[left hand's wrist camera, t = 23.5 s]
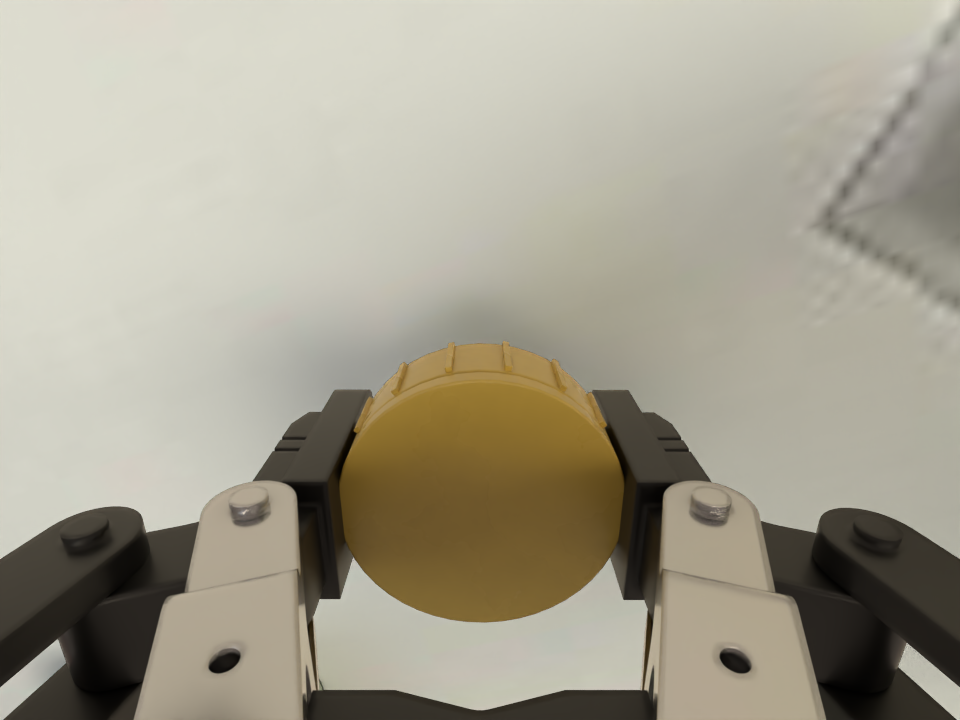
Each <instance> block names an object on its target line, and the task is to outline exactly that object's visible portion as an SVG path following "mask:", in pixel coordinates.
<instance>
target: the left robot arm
mask: <svg viewBox="0 0 960 720" xmlns="http://www.w3.org/2000/svg"><path fill="white" fill-rule="evenodd" d="M591 393H592V394H593V396H594V398H595V400H596V402H597V404H598V407H599V409H600V411H601V413H602V416H603V418H604V420H605V422H606V424H607V426H606V427H604V428H605V430H606V432H607V435H608V437H609V439H610V442H611V444H612V446H613V448H614V451H615V453H616V455H617V458H618V460H619V463H620V466H621V469H622V472H623V475H624V494H623V503H622V512H621V521H620V530H619V538H618V543H617V545H616V547H615V549H614V551H613V553H612V555H611V556H610V558H611V561H612V564H613V568H614V571H615V574H616V577H617V580H618V584H619V587H620V590H621V593H622V596H623V599H624V600H645V603H646V605H647V608H648V611H647V618H646V625H645V635H644V648H643V661H642V675H641V688H640V690H564V691H560V692H556V693H552V694H548V695H544V696H540V697H536V698H532V699H528V700H524V701H521V702H517V703H513V704H509V705H505V706H501V707H497V708H493V709H489V710H471V709H467V708H463V707H459V706H455V705H451V704H447V703H443V702H439V701H436V700H432V699H428V698H424V697H420V696H416V695H412V694H408V693H404V692H400V691H396V690H320V688H319V675H318V661H317V648H316V635H315V625H314V618H313V616H314V613H315V611H316V608H317V605H318V602H319V599H340V598H341V595H342V591H343V588H344V585H345V582H346V578H347V575H348V572H349V569H350V565H351V562H352V559H353V555H352V553H351V551H350V550H349V548H348V546H347V543H346V541H345V536H344V527H343V518H342V508H341V499H340V488H339V479H340V476H341V472H342V468H343V465H344V463H345V460H346V458H347V456H348V453H349V451H350V448H351V446H352V444H353V441H354V439H355V437H356V434H357V433H356V432H354V429H355V426H356V424H357V422H358V419H359V417H360V415H361V413H362V410H363V408H364V406H365V403H366V401H367V399H368V398H369V397H371V398H373V396H372V392H371V390H334V392H333V393H332V395H331V397H330V398H329V400H328V402H327V404H326V405H325V407H324V409H323V410H322V412H309V413H307V414H306V415H304V416H302V417H301V418H299V419H298V420H296V421H295V422H293V423H292V424H291V425H290V427H289V428H288V429H287V431H286V432H285V434H284V435H283V437H282V440H280V441H279V443H278V444H277V446H276V447H275V451H273V452H272V453H271V455H270V456H269V458H268V459H267V461H266V462H265V464H264V465H263V467H262V468H261V470H260V471H259V473H258V474H257V476H256V477H255V479H254V480H253V482H248V483H244V484H240V485H237V486H234V487H232V488H229V489H227V490H225V491H223V492H221V493H220V494H218V495H216V496H215V497H214V498H212V499H211V500H210V501H209V502H208V503H207V504H206V505H205V507H204V508H203V510H202V513H201V516H200V521H199V522H196V523H192V524H188V525H183V526H178V527H173V528H168V529H163V530H158V531H152V532H147V533H146V530H145V526H144V522H143V519H142V516H141V514H140V513H139V512H138V511H136V510H134V509H131V508H128V507H103V508H98V509H93V510H89V511H85V512H82V513H79V514H76V515H74V516H71V517H69V518H66V519H64V520H62V521H60V522H58V523H56V524H55V525H53V526H51V527H50V528H48V529H46V530H45V531H43V532H42V533H40V534H39V535H37V536H36V537H34V538H32V539H31V540H29V541H28V542H26V543H25V544H23V545H22V546H20V547H18V548H17V549H15V550H14V551H12V552H11V553H9V554H8V555H6V556H5V557H3V558H1V559H0V687H1V686H2V685H3V684H4V683H6V682H7V681H8V680H9V679H10V678H12V677H13V676H14V675H15V674H16V673H18V672H19V671H20V670H21V669H22V668H23V667H25V666H26V665H27V664H28V663H29V662H31V661H32V660H33V659H34V658H35V657H36V656H38V655H39V654H40V653H41V652H42V651H44V650H45V649H46V648H47V647H48V646H50V645H51V644H52V643H53V642H54V641H55V640H57V639H58V640H59V643H60V646H61V648H62V651H63V654H64V657H65V660H66V662H67V663H66V664H65V665H64V666H63V667H62V668H60V669H59V670H58V671H57V672H56V673H55V674H54V675H53V676H52V677H50V678H49V679H48V680H47V681H46V682H45V683H44V684H43V685H42V686H40V687H39V688H38V689H37V690H36V691H35V692H34V693H33V694H31V695H30V696H29V697H28V698H27V699H26V700H25V701H24V702H23V703H21V704H20V705H19V706H18V707H17V708H16V709H15V710H14V711H13V712H11V713H10V714H9V715H8V716H7V717H6V718H5V719H4V720H956V719H955V718H954V717H953V716H952V715H951V714H950V713H949V712H947V711H946V710H945V709H944V708H943V707H942V706H941V705H940V704H939V703H937V702H936V701H935V700H934V699H933V698H932V697H931V696H930V695H929V694H927V693H926V692H925V691H924V690H923V689H922V688H921V687H920V686H919V685H917V684H916V683H915V682H914V681H913V680H912V679H911V678H910V677H908V676H907V675H906V674H905V673H904V672H903V671H902V670H901V669H900V668H898V665H899V662H900V660H901V657H902V654H903V651H904V649H905V646H906V643H908V644H909V645H910V646H912V647H913V648H914V649H915V650H916V651H918V652H919V653H920V654H921V655H922V656H924V657H925V658H926V659H927V660H928V661H929V662H931V663H932V664H933V665H934V666H935V667H937V668H938V669H939V670H940V671H941V672H943V673H944V674H945V675H946V676H947V677H948V678H950V679H951V680H952V681H953V682H954V683H956V684H957V685H958V686H959V687H960V559H959V558H957V557H955V556H954V555H952V554H951V553H949V552H948V551H946V550H945V549H943V548H942V547H940V546H938V545H937V544H935V543H934V542H932V541H931V540H929V539H928V538H926V537H924V536H923V535H921V534H920V533H918V532H917V531H915V530H914V529H912V528H910V527H909V526H907V525H905V524H903V523H901V522H899V521H897V520H895V519H892V518H890V517H887V516H885V515H882V514H879V513H875V512H871V511H867V510H862V509H855V508H838V509H833V510H829V511H827V512H825V513H824V514H823V515H822V516H821V518H820V521H819V524H818V528H817V532H816V533H813V532H808V531H803V530H798V529H793V528H788V527H782V526H778V525H773V524H769V523H766V522H763V521H760V516H759V513H758V510H757V508H756V507H755V505H754V504H753V503H752V502H751V501H750V500H749V499H748V498H746V497H745V496H744V495H742V494H740V493H739V492H737V491H735V490H733V489H731V488H728V487H726V486H723V485H720V484H716V483H712V482H711V481H710V479H709V478H708V476H707V475H706V473H705V472H704V470H703V469H702V468H701V466H700V465H699V463H698V462H697V460H696V459H695V457H694V456H693V454H692V453H691V452H689V449H688V447H687V446H686V444H685V443H684V441H683V440H681V437H680V435H679V434H678V432H677V431H676V429H675V428H674V427H673V425H672V424H671V423H669V422H668V421H666V420H665V419H663V418H662V417H660V416H659V415H657V414H655V413H642V412H641V410H640V409H639V407H638V405H637V404H636V402H635V400H634V399H633V397H632V395H631V394H630V392H629V391H628V390H593V391H592V392H591Z"/></svg>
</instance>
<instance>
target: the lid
mask: <svg viewBox="0 0 960 720" xmlns="http://www.w3.org/2000/svg"><path fill="white" fill-rule="evenodd" d="M606 426H607V424H606V422H605V420H604V418H603V416H602V413H601V411H600V409H599V407H598V404H597V402H596V400H595V398H594V396H593V394H592V393H591V392H590V393H588V394H586V392H585V391H584V389H583V388H582V387H581V386H580V385H579V384H578V383H577V382H576V381H575V380H574V379H573V378H572V377H571V376H570V375H569V374H567V373H566V372H565V371H564V370H562V369H561V368H560V365H559V362H558V361H557V360H555V359H553V360H552V361H551V362H550V361H548V360H547V359H545V358H543V357H540V356H538V355H536V354H534V353H531V352H529V351H525V350H522V349H518V348H515V347H510V346H509V342H505V341H503V343H502V345H498V344H479V343H478V344H467V345H458V346H455V343H454V342H453V343H449V344H448V348H444V349H441V350H438V351H435V352H433V353H430V354H427V355H425V356H423V357H421V358H419V359H417V360H415V361H413V362H411V363H410V364H408V365H407V364H406V363H405V362H404V363H402V364H401V365H400V367H399V370H398V372H397V373H396V374H395V375H394V376H393V377H391V378H390V379H389V380H388V381H387V382H386V383H385V384H384V385H383V387H382V388H381V389H380V390H379V391H378V392H377V394H376V395H375V397H374V398H371V397H369V398H368V399H367V401H366V403H365V406H364V408H363V410H362V413H361V415H360V417H359V419H358V422H357V424H356V426H355V429H354V432H356V433H357V434H356V437H355V439H354V441H353V444H352V446H351V448H350V451H349V453H348V456H347V458H346V460H345V463H344V465H343V468H342V472H341V476H340V479H339V488H340V499H341V508H342V518H343V527H344V536H345V541H346V543H347V546H348V548H349V550H350V551H351V553H352V555H353V557H354V559H355V560H356V561H357V563H358V564H359V565H360V567H361V568H362V569H363V571H364V572H365V573H366V574H367V575H368V576H369V577H370V578H371V579H372V580H373V581H374V582H375V583H376V584H377V585H378V586H379V587H381V588H382V589H383V590H384V591H386V592H387V593H388V594H389V595H391V596H393V597H394V598H396V599H397V600H399V601H401V602H402V603H404V604H406V605H408V606H411V607H413V608H415V609H417V610H419V611H422V612H425V613H428V614H431V615H434V616H438V617H442V618H446V619H450V620H457V621H465V622H498V621H506V620H512V619H518V618H522V617H526V616H529V615H533V614H536V613H539V612H541V611H544V610H546V609H549V608H551V607H553V606H555V605H557V604H559V603H561V602H563V601H564V600H566V599H568V598H569V597H571V596H572V595H574V594H575V593H577V592H578V591H579V590H581V589H582V588H583V587H584V586H585V585H586V584H588V583H589V582H590V581H591V580H592V579H593V578H594V577H595V576H596V575H597V573H598V572H599V571H600V570H601V569H602V568H603V566H604V565H605V563H606V562H607V561H608V559H609V558H610V556H611V555H612V553H613V551H614V549H615V547H616V545H617V543H618V538H619V530H620V521H621V512H622V503H623V494H624V475H623V472H622V469H621V466H620V463H619V460H618V458H617V455H616V453H615V451H614V448H613V446H612V444H611V442H610V439H609V437H608V435H607V432H606V430H605V428H604V427H606Z"/></svg>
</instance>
